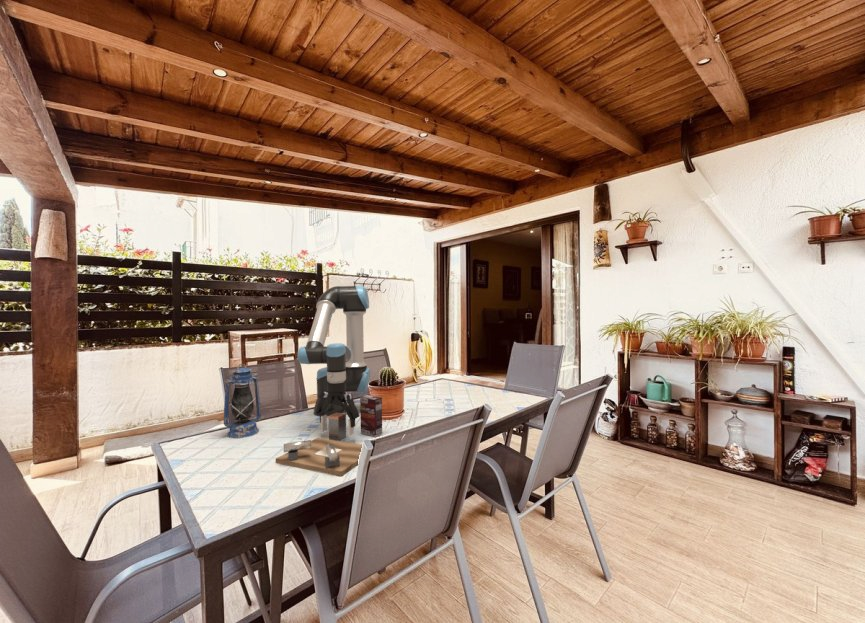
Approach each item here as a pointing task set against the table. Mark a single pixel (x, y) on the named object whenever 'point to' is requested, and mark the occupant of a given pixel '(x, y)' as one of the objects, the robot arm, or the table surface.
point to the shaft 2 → (331, 457)
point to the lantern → (242, 404)
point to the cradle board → (317, 454)
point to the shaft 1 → (296, 448)
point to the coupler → (337, 426)
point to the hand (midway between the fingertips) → (337, 433)
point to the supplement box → (371, 415)
